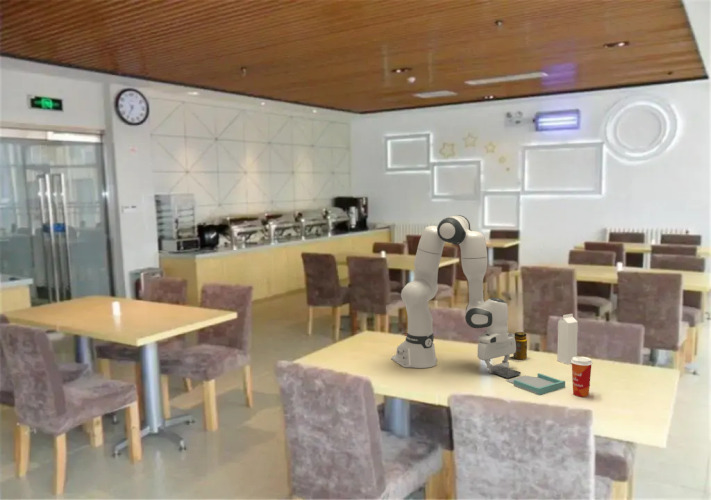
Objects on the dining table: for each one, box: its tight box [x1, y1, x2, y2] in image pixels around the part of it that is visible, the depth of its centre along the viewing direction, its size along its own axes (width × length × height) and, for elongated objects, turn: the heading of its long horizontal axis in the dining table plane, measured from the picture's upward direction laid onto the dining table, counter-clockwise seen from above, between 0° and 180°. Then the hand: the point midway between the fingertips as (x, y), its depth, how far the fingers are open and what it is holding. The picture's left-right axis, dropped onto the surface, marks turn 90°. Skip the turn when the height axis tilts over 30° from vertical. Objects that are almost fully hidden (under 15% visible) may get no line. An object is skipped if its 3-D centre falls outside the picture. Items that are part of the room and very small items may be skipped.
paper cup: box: [571, 356, 593, 398], centre depth 224 cm, size 8×8×14 cm
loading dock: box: [505, 373, 566, 396], centre depth 236 cm, size 19×15×4 cm
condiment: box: [508, 331, 531, 363], centre depth 271 cm, size 7×8×12 cm
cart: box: [488, 361, 522, 379], centre depth 249 cm, size 9×11×4 cm
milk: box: [556, 313, 579, 365], centre depth 264 cm, size 6×6×22 cm
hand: (497, 366), depth 253 cm, fingers open, 8 cm apart
